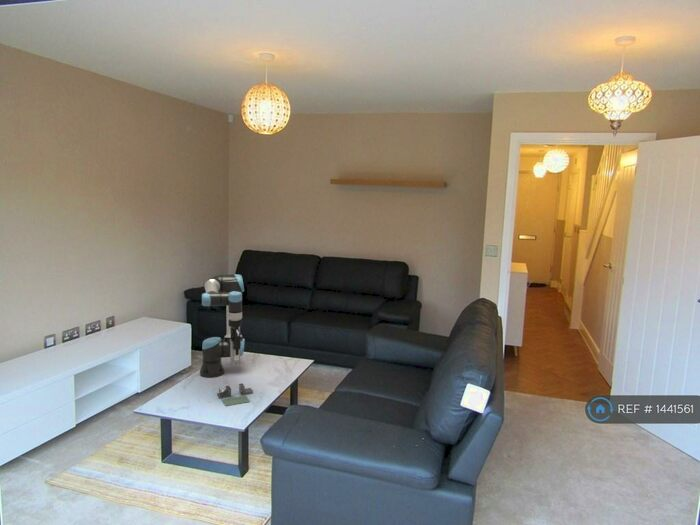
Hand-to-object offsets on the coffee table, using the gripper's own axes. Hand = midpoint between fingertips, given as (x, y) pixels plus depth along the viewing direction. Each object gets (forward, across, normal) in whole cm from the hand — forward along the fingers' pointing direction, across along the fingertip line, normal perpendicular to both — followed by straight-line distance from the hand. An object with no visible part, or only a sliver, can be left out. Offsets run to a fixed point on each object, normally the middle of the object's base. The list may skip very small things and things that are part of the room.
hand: (235, 358), depth 282 cm
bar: (+3, 0, 0) cm, 3 cm away
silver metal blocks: (+23, -4, +1) cm, 24 cm away
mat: (+23, +5, -1) cm, 24 cm away
